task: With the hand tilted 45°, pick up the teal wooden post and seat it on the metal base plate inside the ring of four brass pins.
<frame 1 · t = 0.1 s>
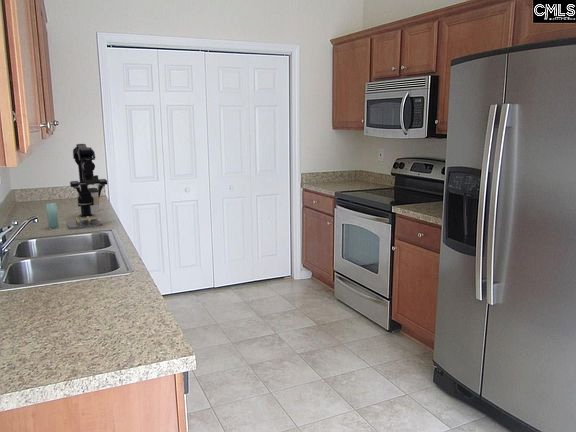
hand: (90, 198, 262), 15 cm above the worktop, tool pointing down, fingers open, 9 cm apart
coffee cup: (93, 211, 304), on the worktop
post: (53, 227, 257), on the worktop
metal base plate: (83, 225, 262), on the worktop
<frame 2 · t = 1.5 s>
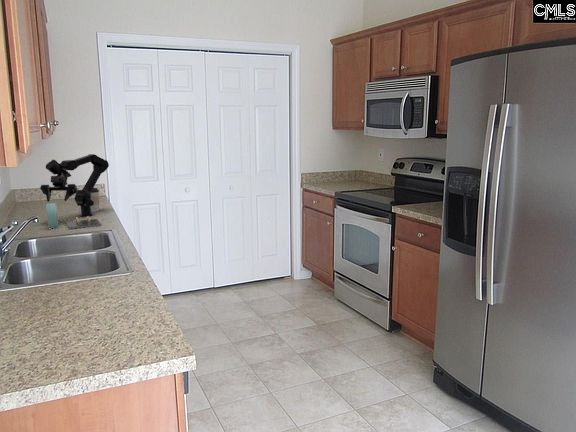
hand: (56, 201, 261), 13 cm above the worktop, tool tilted 45°, fingers open, 9 cm apart
nothing on the worktop moved.
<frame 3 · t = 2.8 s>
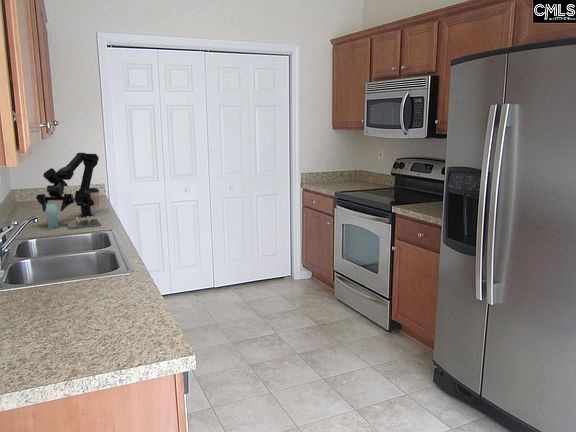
hand: (52, 211, 256), 9 cm above the worktop, tool tilted 45°, fingers open, 9 cm apart
nothing on the worktop moved.
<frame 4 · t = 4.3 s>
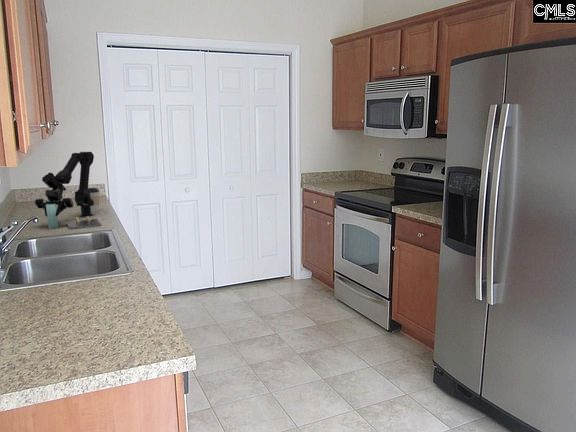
hand: (51, 215, 254), 7 cm above the worktop, tool tilted 45°, fingers closed on post, 5 cm apart
post: (53, 227, 257), on the worktop, touching gripper
everything else where it was.
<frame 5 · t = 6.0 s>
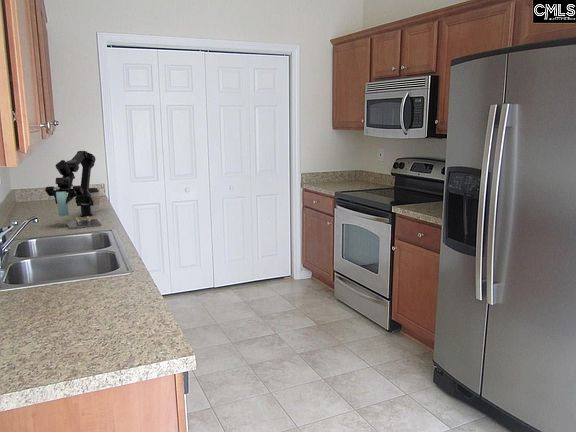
hand: (61, 203, 255), 13 cm above the worktop, tool tilted 45°, fingers closed on post, 5 cm apart
post: (63, 215, 257), point 6 cm above the worktop, touching gripper
everything else where it was.
when the fingers open (9 cm above the worktop, at t = 8.0 s): post drops 1 cm, resting on metal base plate.
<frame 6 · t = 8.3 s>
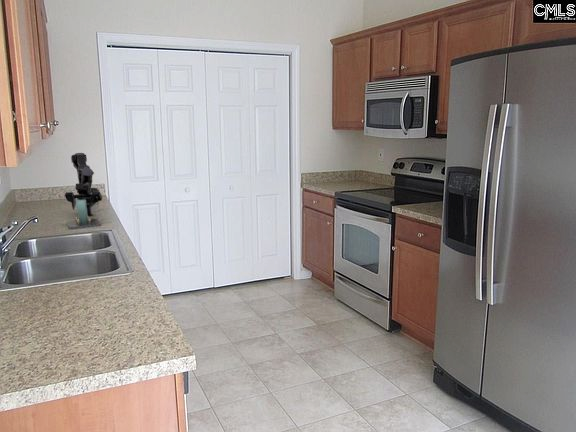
hand: (81, 208, 258), 9 cm above the worktop, tool tilted 45°, fingers open, 8 cm apart
post: (83, 222, 262), point 1 cm above the worktop, touching metal base plate
everything else where it was.
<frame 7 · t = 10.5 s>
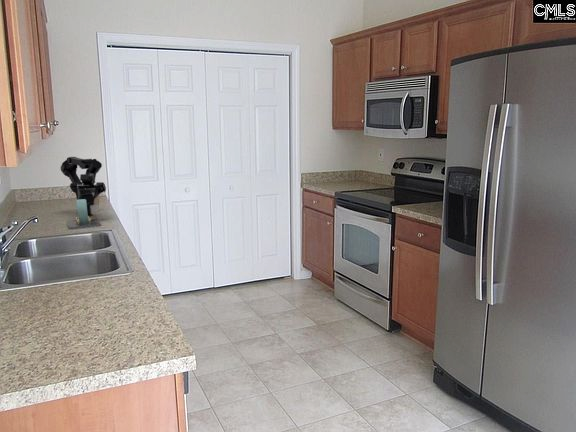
hand: (85, 199, 266), 14 cm above the worktop, tool tilted 45°, fingers open, 9 cm apart
nothing on the worktop moved.
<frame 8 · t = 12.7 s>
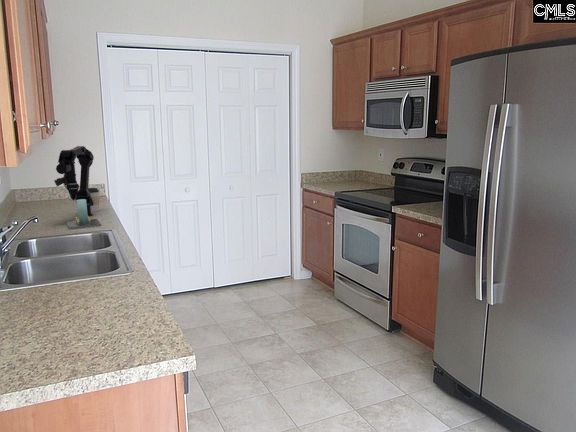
hand: (72, 199, 270), 13 cm above the worktop, tool pointing down, fingers open, 9 cm apart
nothing on the worktop moved.
at the end: post 0.0 cm off-centre on the metal base plate, point 1.2 cm above the metal base plate's base; post tilted 0°; the gripper is holding nothing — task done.
